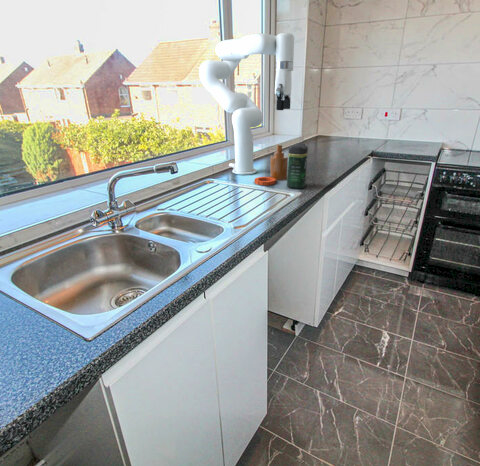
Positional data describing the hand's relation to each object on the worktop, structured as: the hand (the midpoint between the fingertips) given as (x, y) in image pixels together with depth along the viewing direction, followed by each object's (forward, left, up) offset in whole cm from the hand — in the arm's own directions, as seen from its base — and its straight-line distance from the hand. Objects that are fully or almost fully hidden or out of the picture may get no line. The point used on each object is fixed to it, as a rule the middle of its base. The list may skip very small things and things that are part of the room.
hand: (283, 109), depth 147 cm
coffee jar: (+11, -10, -32) cm, 35 cm away
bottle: (-2, 0, -32) cm, 32 cm away
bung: (-5, -10, -32) cm, 33 cm away
